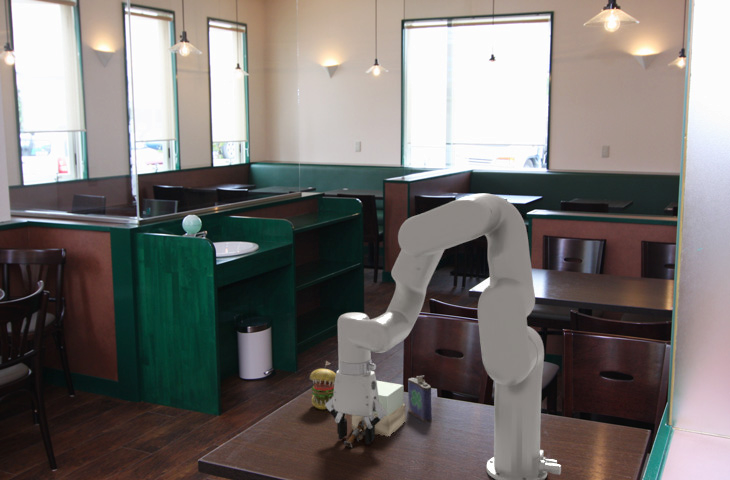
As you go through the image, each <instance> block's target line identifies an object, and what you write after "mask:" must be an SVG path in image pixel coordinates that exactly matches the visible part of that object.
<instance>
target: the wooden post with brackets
mask: <svg viewBox="0 0 730 480" xmlns="http://www.w3.org/2000/svg"><path fill="white" fill-rule="evenodd" d="M364 422H365V421H364V420H360V422H359V424H358V426H357V428H355V430H353V432H351V436H349V438H348V439H347V440H344V441H343V444H344V446H349V447H351V448H350V449H352V448H353V443H354V440H355V439H356V441H357V442H360V441H359V440H361V441H362V439H364V436H365V428H364V426H363V425H364V424H365V423H364ZM360 430H362V432H361V431H360ZM360 432H361V433H360ZM349 447H348V448H349Z"/></svg>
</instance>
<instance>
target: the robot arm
mask: <svg viewBox="0 0 730 480" xmlns="http://www.w3.org/2000/svg"><path fill="white" fill-rule="evenodd" d="M482 236H485V237H486V240H487V264H488V269H489V285H488V286H486V287H485V288H484V290H482V292H481V294H480V296H479V297H478V298H479V299H478V303H477V321H478V331H479V342H480V350H481V351H480V352H481V359H482V364H483V367H484V370H485V372H486V373H487V375H488V376H489V377H490V379H491V380H492V381H494V399H493V400H494V401H493V402H494V403H493V404H494V405H493V408H494V409H493V410H494V411H493V425H494V426H493V457H491V458H490V459H489V460H487V462H486V467H485V468H486V472H487V474H488V475H489V477H491V478H492V479H494V480H546V478H547V476H548V473H550V474H554V475H561V473H562V465H561V464H558V460H557V459H553V458H550V459H549V458H547V457H546V456H544V452H545V451H544V450H543V449H541V423H542V422H541V420H542V417H541V415H542V413H541V412H542V408H541V407H542V383H543V370H544V360H545V347H544V343H543V342H544V341H543V340H542V337H541V335H540V334H539V333H538V332H537V331H536V330H535V329H534V328H532V327H531V326H528V320H527V318H528V316H530V314H532V311H533V310H534V308H535V304H536V296H535V294H536V293H535V289H534V288H535V287H534V279H533V270H532V261H531V255H530V246H529V239H528V238H529V237H528V232H527V226H526V224H525V220H524V219H523V217H522V214H521V213H520V212H519V210H518V208H516V206H514V204H513V203H511V202H510V201H508V200H507V199H506V198H503V197H501V196H498V195H496V194H491V193H475V194H471V195H468V196H464V197H461V198H458V199H455V200H452V201H449V202H448V203H445V204H442V205H440V206H437V207H435V208H432V209H430V210H428V211H425V212H423V213H420V214H417V215H414V216H411V217H409V218H407V219H406V220H405V221H404V222H403V223H402V224H401V226H400V228H399V230H398V233H397V241H398V245H399V248H400V252H399V254H398V256H397V258H396V260H395V262H394V265H393V267H392V269H391V272H390V273H391V277H392V279H393V280H394V282H395V290H394V293H393V296H392V299H391V300H390V303H389V305H388V307H387V309H386V311H385V312H384V313H382V314H381V315H379V316H377V317H374V318H371V319H370V317H369V316H368V314H366V313H364V312H355V311H354V312H346V313H343V314H341V315H340V316H339V317H338V319H337V342H338V343H337V350H338V351H337V352H338V354H337V355H338V370H336V372H335V374H336V377H335V383H334V397H332V398H331V399H330V400H329V401H328V402H327V403H326V404H325V406H326V407H327V409H326V410H327V411H329V412H330V415H332V417H333V418H334V421H335V423H336V426H337V435H338V440H343V439H344V438H346V437H347V435H348V421H347V418H346V416H347V415H351V416H352V415H356V416H362V417H364V420H365V422H366V424H367V428H366V429H365V435H364V438H365V439H364V440H365V441H364V442H365V445H368V446H369V445H370V444H371V443H372V442H374V440H375V437H376V434H375V425H376V424H377V423H378V422H379V421H380V420H381V419H382V418H383V417H384V416H386V415H387V412H386V410H385V409H384V408H383V407H382V406H381V405H380V403H379V397H378V387H377V381H378V380H377V378H376V373H375V370H376V369H377V364H375V363H373V361H372V359H371V357H372V356H371V354H372V353H371V352H373V353H377V354H380V353H385V352H388V351H389V350H391V349H393V348H394V347H395V346H396V345H398V344H400V343H401V342H403V341H404V340H405V339H406V338H407V337H408V336H409V334H410V333H411V331H412V329H413V328H414V325H415V324H416V321H417V320H418V318H419V315H420V313H421V311H422V308H423V306H424V302H425V298H426V294H427V288H428V285H429V284H430V282H431V279H432V277H433V275H434V273H435V271H436V268H437V266H438V265H439V263H440V260H441V258H442V256H443V253H444V252H445V250H446V249H450V248H452V247H456V246H458V245H461V244H463V243H467V242H469V241H473V240H476V239H478V238H479V237H482ZM373 411H377V412H378V416H377V417H376V418H375V416H374V414H373Z"/></svg>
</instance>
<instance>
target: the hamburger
mask: <svg viewBox="0 0 730 480" xmlns="http://www.w3.org/2000/svg"><path fill="white" fill-rule="evenodd" d="M329 365H331V362H329V361H327V360H325V367H324V368H317V369H314V370H313V371H312V372H311V373H310V375H309V380H310V381H312V383H313V385H312V387H311V391H312V392H311V394H312V397H311V404H312V405H313V407H315V408H316V409H318V410H328V409H327V407H326V406H325V404H326V403H327V402H328V401H329V400H330V399H331V398H332V397H334V383H335V377H336V372H335V371H333V370H331V369H328V368H326V367H327V366H329Z"/></svg>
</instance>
